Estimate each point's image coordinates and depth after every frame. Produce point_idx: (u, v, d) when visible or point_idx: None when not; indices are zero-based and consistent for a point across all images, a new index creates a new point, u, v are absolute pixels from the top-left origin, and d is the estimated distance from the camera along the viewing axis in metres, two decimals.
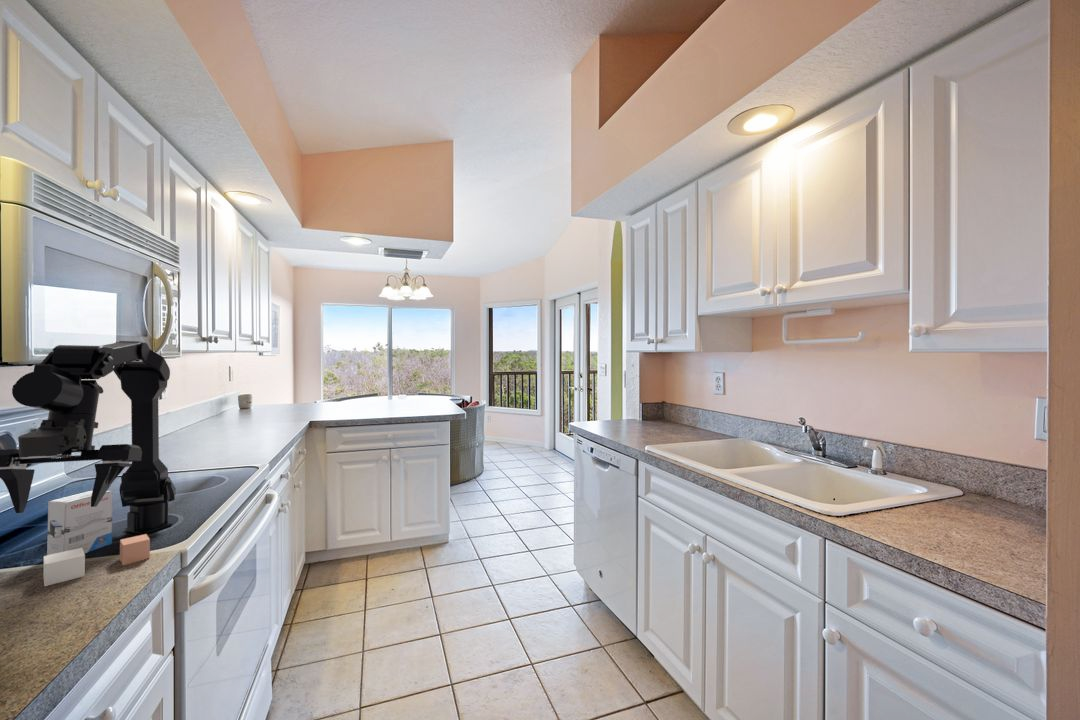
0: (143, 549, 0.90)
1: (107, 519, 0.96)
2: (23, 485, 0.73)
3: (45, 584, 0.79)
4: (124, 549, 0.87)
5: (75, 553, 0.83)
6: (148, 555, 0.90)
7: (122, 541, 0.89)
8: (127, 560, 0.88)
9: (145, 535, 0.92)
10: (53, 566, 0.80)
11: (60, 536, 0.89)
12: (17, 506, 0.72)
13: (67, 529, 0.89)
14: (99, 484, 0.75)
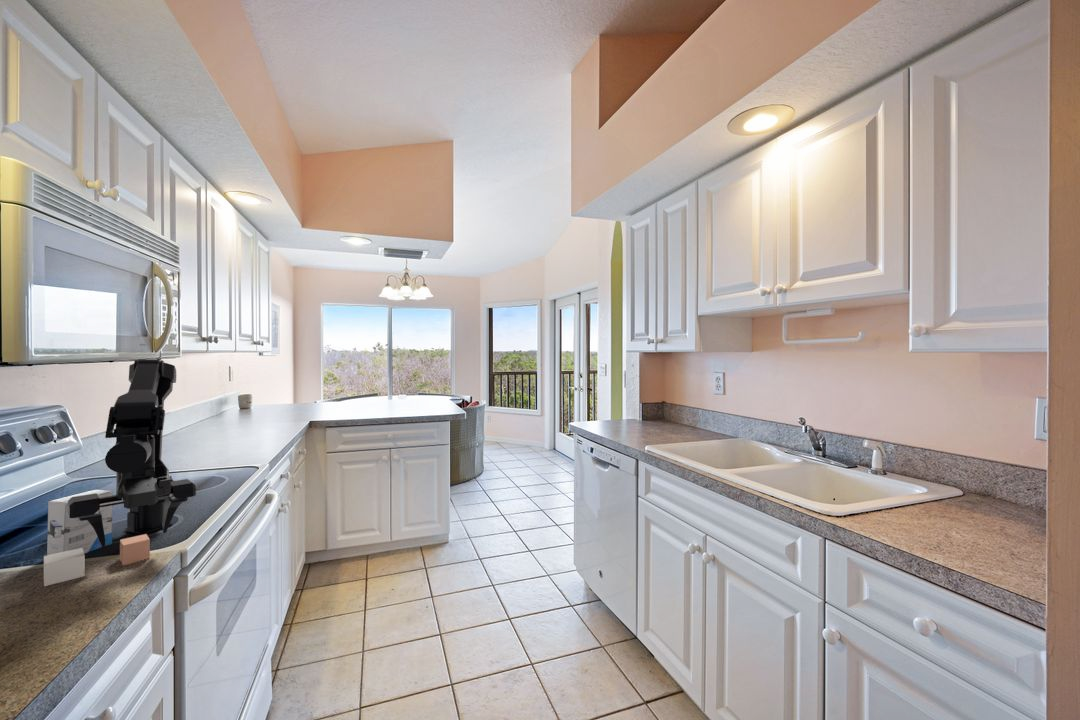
0: (143, 549, 0.90)
1: (107, 519, 0.96)
2: None
3: (45, 584, 0.79)
4: (124, 549, 0.87)
5: (75, 553, 0.83)
6: (148, 555, 0.90)
7: (122, 541, 0.89)
8: (127, 560, 0.88)
9: (145, 535, 0.92)
10: (53, 566, 0.80)
11: (60, 536, 0.89)
12: (103, 542, 0.86)
13: (67, 529, 0.89)
14: (170, 516, 0.93)
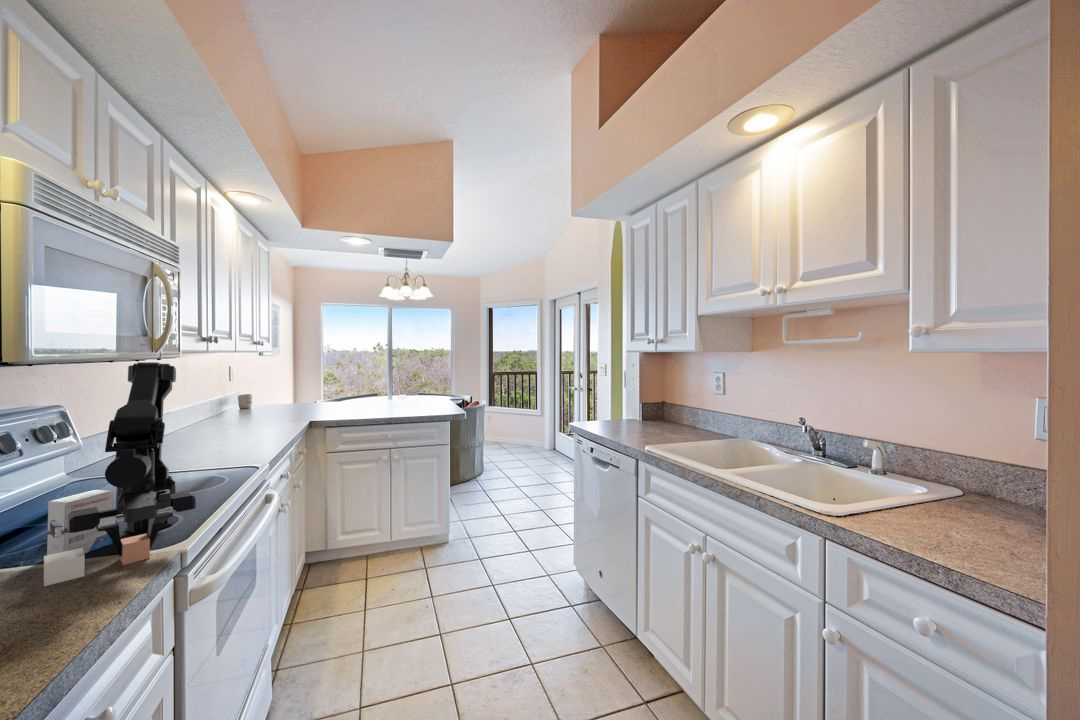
0: (143, 548, 0.90)
1: None
2: None
3: (45, 584, 0.79)
4: (124, 549, 0.87)
5: (75, 553, 0.83)
6: (148, 555, 0.90)
7: (122, 541, 0.89)
8: (127, 560, 0.88)
9: (145, 535, 0.92)
10: (53, 566, 0.80)
11: (60, 536, 0.89)
12: (120, 551, 0.88)
13: (67, 529, 0.89)
14: (155, 532, 0.92)
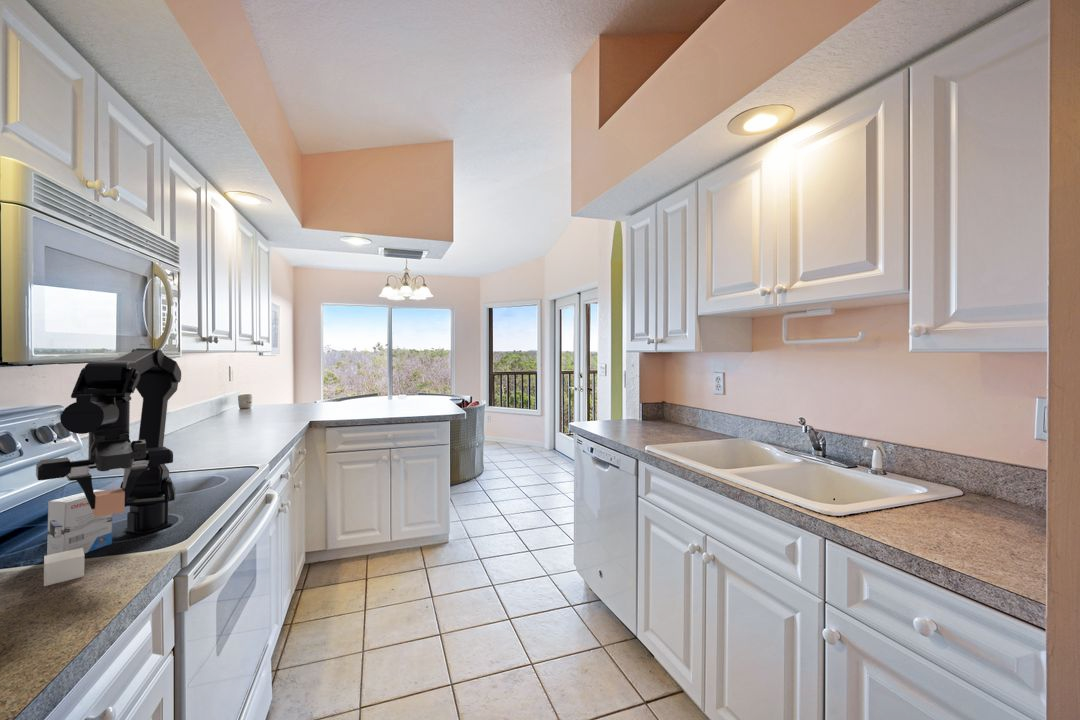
0: (117, 501, 0.86)
1: (107, 519, 0.96)
2: None
3: (44, 584, 0.79)
4: (97, 500, 0.84)
5: (75, 553, 0.83)
6: (123, 508, 0.87)
7: (95, 493, 0.86)
8: (100, 512, 0.85)
9: (120, 488, 0.89)
10: (53, 566, 0.80)
11: (60, 536, 0.89)
12: (93, 504, 0.85)
13: (67, 529, 0.89)
14: (130, 485, 0.88)
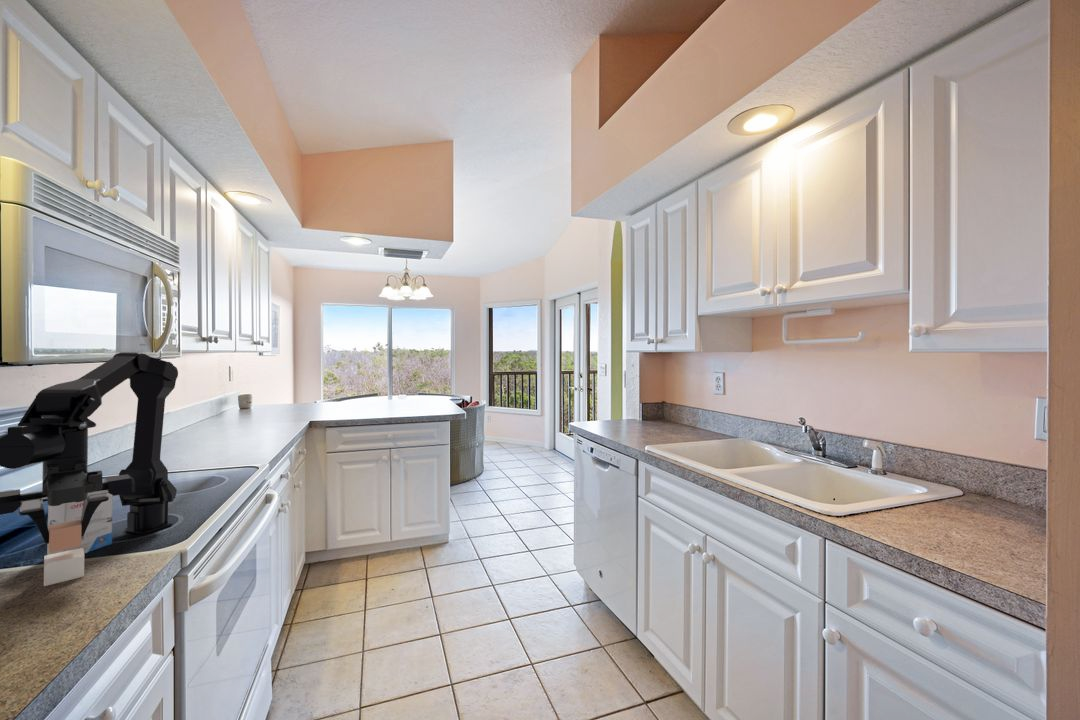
0: (74, 535, 0.82)
1: (107, 519, 0.96)
2: None
3: (44, 584, 0.79)
4: (51, 535, 0.80)
5: (75, 553, 0.83)
6: (79, 542, 0.83)
7: (50, 526, 0.82)
8: (54, 547, 0.80)
9: (78, 520, 0.85)
10: (53, 566, 0.80)
11: None
12: (47, 538, 0.80)
13: None
14: (88, 517, 0.84)
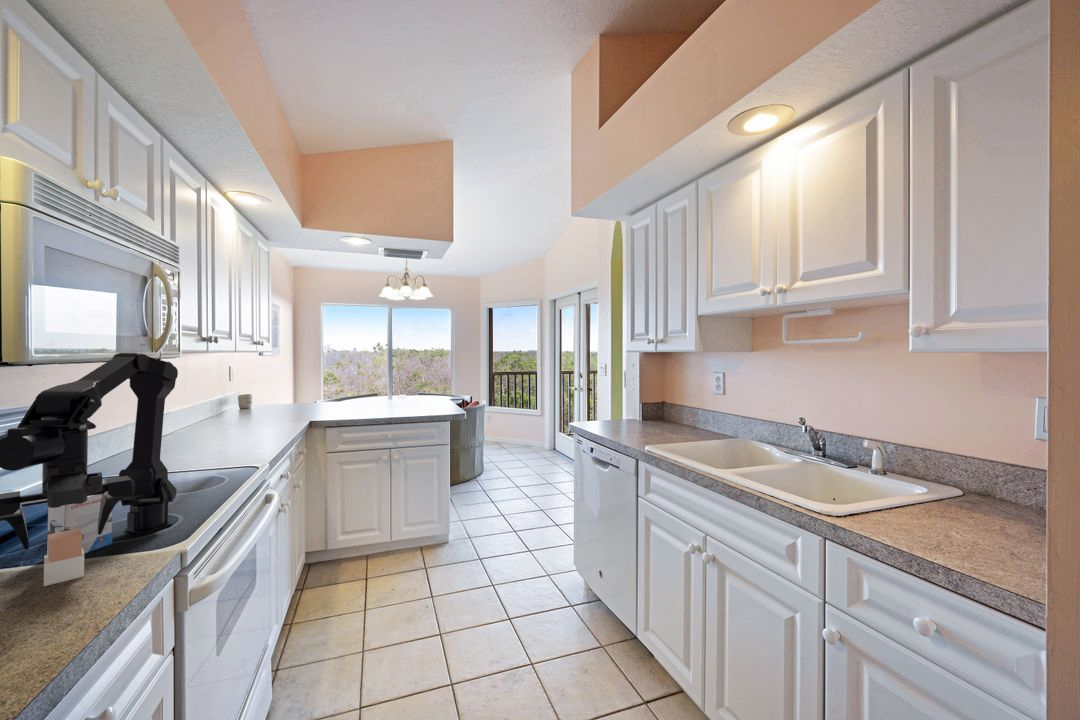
0: (74, 544, 0.82)
1: None
2: (25, 524, 0.79)
3: (44, 584, 0.79)
4: (51, 544, 0.80)
5: None
6: (80, 551, 0.83)
7: (50, 536, 0.82)
8: (55, 556, 0.80)
9: (78, 529, 0.85)
10: (53, 566, 0.80)
11: None
12: (26, 544, 0.79)
13: (67, 529, 0.89)
14: (106, 515, 0.86)
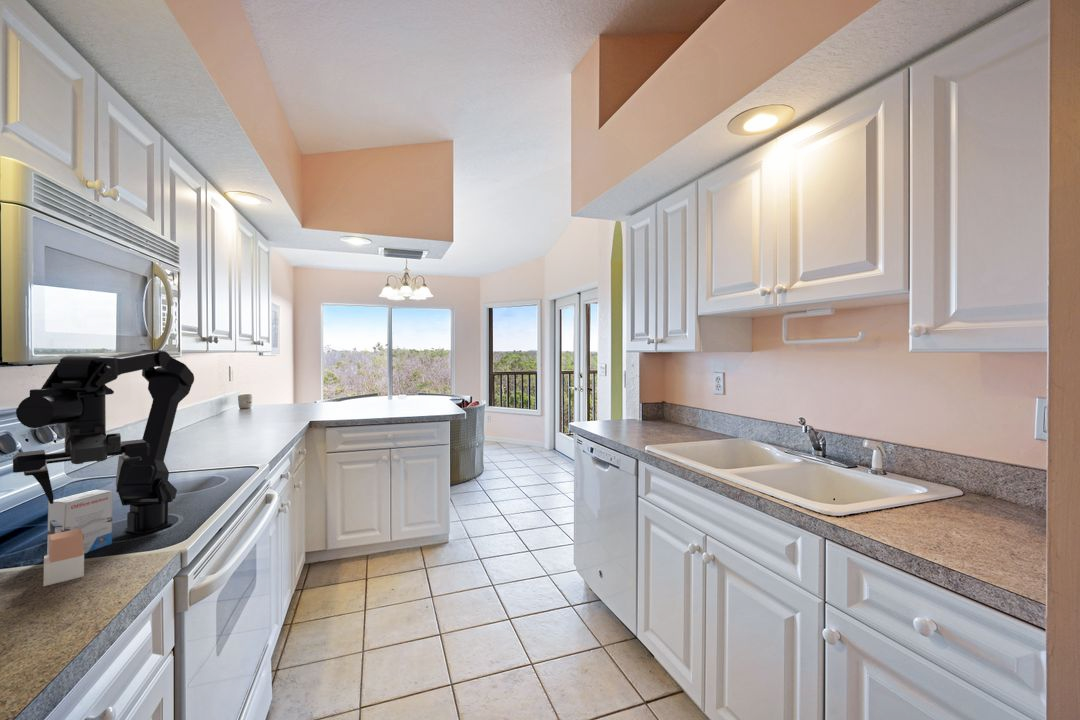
0: (75, 544, 0.82)
1: (107, 519, 0.96)
2: None
3: (44, 584, 0.79)
4: (52, 545, 0.80)
5: None
6: (81, 551, 0.83)
7: (51, 536, 0.81)
8: (56, 557, 0.80)
9: (79, 530, 0.85)
10: (52, 566, 0.80)
11: None
12: (51, 498, 0.85)
13: (67, 529, 0.89)
14: (124, 475, 0.92)
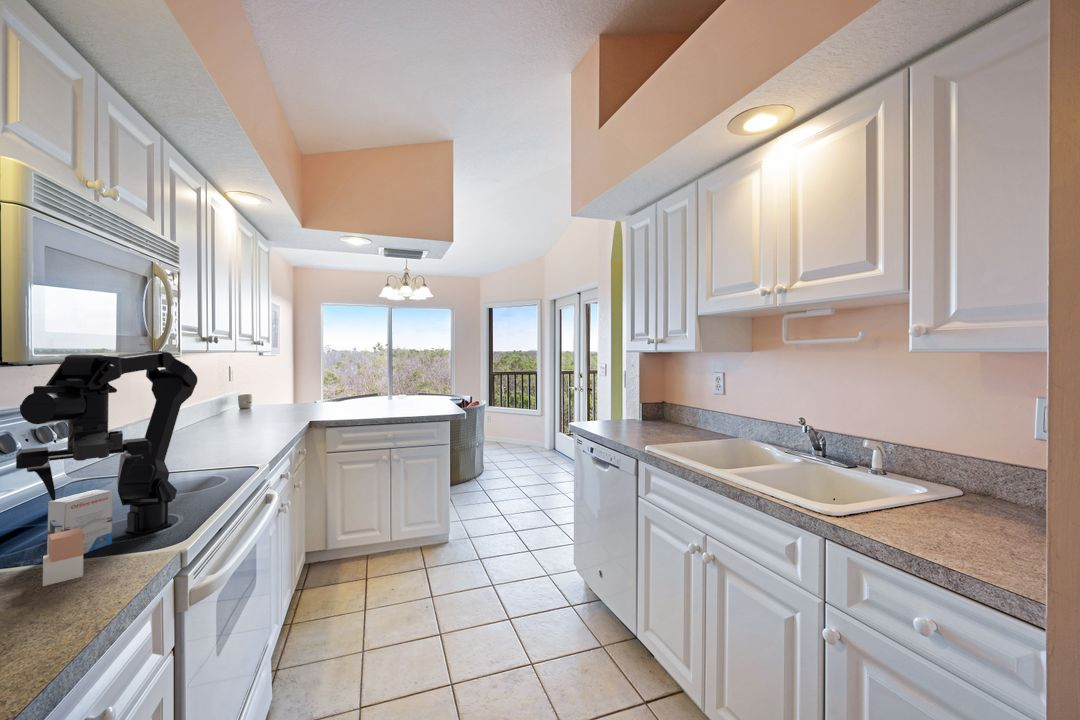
0: (75, 544, 0.82)
1: (107, 519, 0.96)
2: None
3: (43, 584, 0.79)
4: (53, 544, 0.80)
5: None
6: (81, 550, 0.83)
7: (51, 536, 0.82)
8: (56, 556, 0.80)
9: (78, 529, 0.85)
10: (52, 566, 0.80)
11: None
12: (53, 495, 0.85)
13: (67, 529, 0.89)
14: (125, 473, 0.93)
